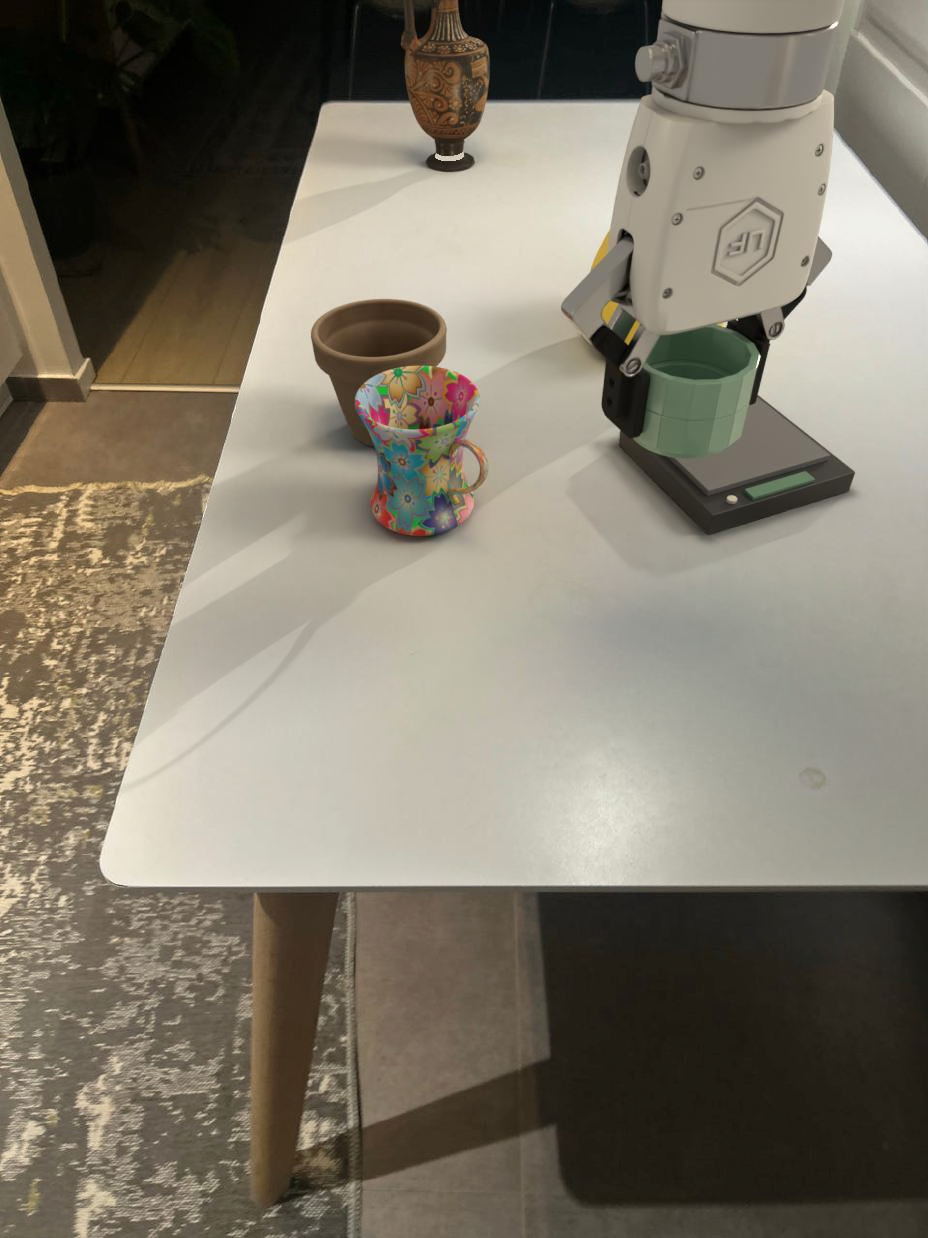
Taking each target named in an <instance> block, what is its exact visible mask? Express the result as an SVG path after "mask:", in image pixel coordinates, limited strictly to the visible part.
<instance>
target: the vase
mask: <svg viewBox="0 0 928 1238" xmlns="http://www.w3.org/2000/svg"><path fill="white" fill-rule="evenodd" d="M402 3H403V12H404V15H403V16H404V30H403V31H402V34H401V40H400V46H401V48H402V49H403V50H405V55H404V77H405V85H406V90H407V95H408V100H409V105H410V108H411V110H412V113H413V115H414V118H415V120H416V122H417V124H418V125H419V127H420V129H421V130H422V131H423V132H424V133H425V134H426V135H427V136H429V137H430V138H431V139H433V140H434V144H435V152H434V153H431V154H430V155H429V156H428V157H426V160H425V165H426V166H427V167H428V168H430V169H433V170H437V171H442V172H456V171H463V170H467V169H469V168H471V167H473V166H474V165H475V162H476V161H475V158H474V156H473V155H471V154H470V153H467V152H464V157H463V158H462V159H460V160H456V161H441V160H438V159H436V158H435V154H436V153H437V154H439V155H441V156H454V155H458V154H460V153H462V152H463V150H464V146H465V140H466V139H468V138H469V137H470V136H471V135H472V134H473V133H475V131H476V130H477V129H478V127H479V125H480V123H481V121H482V119H483V115H484V112H485V108H486V104H487V99H488V94H489V93H488V92H489V84H490V72H491V71H490V70H491V69H490V68H491V63H490V62H491V59H490V51H489V47H488V45H487V44H486V43H485V42H484V41H482V40H481V39H479V38H476V37H474V36H473V37H472V36H469V35H468V34H467V33H466V32H465V31H464V29H463V26H462V23H461V18H460V12H459V0H431V17H430V24H429V27H428V30H427V32H426V33H425V34H424V35H423V36H422V37H421V38H419V39H418V36H417V31H416V26H415V25H416V24H415V12H414V3H413V0H402Z"/></svg>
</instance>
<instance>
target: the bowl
mask: <svg viewBox="0 0 928 1238" xmlns="http://www.w3.org/2000/svg"><path fill="white" fill-rule="evenodd" d="M759 361H760V354H759V352H758V350H757V348H756V346H755V344H754V343H753V342H752V341H750V340H749V339H747V338H746V337H745V336H743V335H742V334H740V333H738V332H736V331H733V330H731V329H728V328H726V326H720V325H716V324H715V325H711V326H707V327H703V328H699V329H695V330H691V331H686V332H682V333H677V334H671V335H661V336H660V338H659V339H658V341H657V343H656V345H655V346H654V348H653V350H652V352H651V353H650V355H649V357H648V359H647V360H646V362H645V364H644V366H643V367H642V369H643V370H644V371H645V372H647V373H648V374H649V375H650V385H649V391H648V398H647V405H646V411H645V418H644V425H643V431H642V433H641V434H640V436H639V437H636V438H633V439H634V440H635V441H636V442H637V443H638V444H640V445H641V446H642V447H644V448H646V449H648V450H650V451H652V452H654V453H657V454H660V455H663V456H668V457H673V458H682V459H694V458H703V457H707V456H711V455H714V454H717V453H719V452H721V451H722V450H724V449H725V448H727V447H729V446H730V445H732V444H733V443H734V442H735V441H737V440H738V439H739V438H740V437H741V436H742V433H743V429H744V426H745V422H746V418H747V413H748V409H749V405H750V400H751V396H752V391H753V387H754V383H755V379H756V374H757V370H758V366H759Z"/></svg>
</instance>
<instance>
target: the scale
mask: <svg viewBox="0 0 928 1238" xmlns="http://www.w3.org/2000/svg"><path fill="white" fill-rule="evenodd" d="M618 438H619V439H618V445H619V447H621V448H622V449H623V450H624V451H625V452H626V454H628V456H629V457H631V458H632V460H633V461H635V463H636V464H638V465H639V467H640V468H641V469H643V470H644V472H645V473H646V474H648V476H649V477H651V479H652V480H653V481H655V483H656V484H657V485H658V486H659V487H660V488H661V489H662V490H663V491H664V492H665V493H666V494H667V495H668V496H669V497H670V498H671V499H672V500H673V501H674V502H675V503H676V504H677V505H678V506H679V507H680V508H681V509H682V510H683V511H684V512H685V513H686V514H687V516H689V517H690V518H691V519H692V521H694V522H695V524H696V525H697V526H698V527H700V529H702V530H703V531H704V532H705V533H706V535H712V534H716V533H718V532H722V531H725V530H728V529H732V528H734V527H738V526H741V525H744V524H748V523H750V522H755V521H757V520H760V519H763V518H767V517H770V516H773V515H776V514H780V513H783V512H786V511H789V510H792V509H797V508H799V507H802V506H806V505H810V504H812V503H816V502H819V501H822V500H826V499H828V498H832V497H835V496H838V495H841V494H844V493H847V492H849V491H850V489H851V486H852V484H853V481H854V477H855V475H856V471H855V470H854V469H852V468H851V467H850V466H848V465H847V464H846V463H845V462H844V461H842V460H841V459H840V458H838V457H837V456H836V455H835V454H834V453H832V452H831V451H830V450H828V449H827V448H826V447H825V446H824V445H822V444H821V443H820V442H819V441H817V440H815V438H813V436H811V435H810V434H809V433H807V432H805V430H803V429H802V428H800V427H799V426H798V425H797V424H795V423H794V422H793V421H792V420H790V419H789V418H788V417H787V416H785V414H783V413H782V412H780V411H779V410H778V409H777V408H776V407H774V406H773V405H772V404H770V403H769V402H768V401H766V400H765V399H764V398H763V397H762V396H760V395H759V394H758V396H757V400H756V403H755V404H752V405H749V409H748V413H747V418H746V422H745V426H744V429H743V433H742V436H741V437H740V438H739V439H738V440H737V441H735V442H734V443H733V444H732V445H730V446H729V447H727V448H725V449H724V450H722V451H721V452H719V453H717V454H714V455H711V456H707V457H703V458H694V459H682V458H673V457H668V456H663V455H660V454H657V453H654V452H652V451H650V450H648V449H646V448H644V447H642V446H641V445H640V444H638V443H637V442H636V441H635V440H634V439H633V438H632V439H629V438H628V437H627V436H626V435H625V434H624V433H623V432H622V431H620V430H619V436H618Z"/></svg>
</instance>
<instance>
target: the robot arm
mask: <svg viewBox="0 0 928 1238" xmlns="http://www.w3.org/2000/svg"><path fill="white" fill-rule="evenodd" d="M845 2H846V0H662V4H661V5H662V6H661V12H660V19H659V21H658V27H657V36H656V40H655V42H653V43H652V45H651V44H650V45H644V46H641V47H640V48H639V49H638V50H637V53H636V55H635V62H634V68H635V70H634V71H635V74H636V77H637V78H638V80H639V81H640V82H642V83H645V82H651V86H652V87H651V94H647V95H644V96H642V97H641V98H640V100H639V104H638V107H637V111H636V114H635V117H634V119H633V122H632V127H631V130H630V134H629V136H628V141H627V144H626V149H625V152H624V156H623V157H624V158H623V161H622V164H621V169H620V173H619V177H618V183H617V188H616V193H615V197H614V203H613V210H612V216H611V221H610V228H609V230H610V234H609V241H608V248H607V255H606V256H605V257H604V258H603V259H602V260H601V261H600V262H599V263H598V264H597V265H596V267H595V268H594V269H593V270H592V271H591V270H590V271H591V272H590V271H589V273H588V274H587V275H586V276H585V277H584V278H583V279H582V280H581V281H580V282H579V283H578V284H577V285H576V287H574V288H573V290H572V291H570V293H569V294H568V295H567V296H565V298H564V299H563V301H562V302H561V305H560V311H561V313H562V314H563V315H564V316H565V318H566V319H567V320H568V321H569V322H570V323H571V325H572V326H573V327H574V328H575V329H576V331H577V332H578V333H579V334H580V336H581V337H582V338H583V339H584V340H585V341H586V342H587V343H588V344H590V345H591V347H593V348H594V349H595V350H596V351H597V352H598V353H599V354H600V355H601V356H602V357H604V358H605V366H604V375H603V384H602V394H601V404H600V405H601V409H602V412H603V415H604V416H605V417H606V418H607V420H609V421H610V423H612V424H613V425H614V426H615V427H616V428H617V429H619V432H620V431H622V432H623V433H624V434H625V435H626V436H627V437H628V438H629V439H632V438H636V437H639V436H640V434H641V433H642V431H643V425H644V418H645V411H646V405H647V398H648V391H649V385H650V375H649V374H648V373H647V372H645V371H644V370H643V369H642V367H643V366H644V364H645V362H646V360H647V359H648V357H649V355H650V353H651V352H652V350H653V348H654V346H655V345H656V343H657V341H658V339H659V338H660V336H661V335H671V334H677V333H682V332H686V331H691V330H695V329H699V328H703V327H707V326H711V325H715V324H719V323H723V324H724V323H726V326H725V328H728V329H731V330H733V331H736V332H738V333H740V334H742V335H743V336H745V337H746V338H747V339H749V340H750V341H752V342H753V343H754V344H755V346H756V348H757V350H758V352H759V354H760V361H759V366H758V370H757V374H756V379H755V383H754V387H753V391H752V396H751V400H750V405H752V404H755V403H756V400H757V396H758V395H759V391H760V386H761V383H762V380H763V375H764V371H765V366H766V363H767V362H766V361H767V358H768V354H769V350H770V346H771V343H770V341H775V340H776V339H778V338H780V337H781V335H783V332H784V330H785V328H786V327H785V326H786V325H785V324H786V323H785V320H786V318H787V317H788V316H790V314H791V313H792V312H793V311H794V310H795V309H796V308H797V307H798V305H799V304H800V303H801V302H802V301H803V300H804V298H805V297H806V295H807V292H808V288H807V287H808V286H809V287H810V286H811V285H812V284H813V283H814V282H815V281H816V279H817V278H818V277H819V276H820V274H821V273H822V272H823V271H824V270H825V268H826V267H827V266H828V265H829V263H830V262H831V259H832V258H833V251H832V250H831V248H829V246H828V245H827V244H826V243H825V242H824V241H823V239H821V237H820V236H819V235H820V229H821V224H822V219H823V216H824V215H823V214H824V209H825V203H826V198H827V193H828V191H827V190H828V185H829V179H830V178H829V177H830V172H831V165H832V155H833V143H834V127H835V126H834V125H835V97H834V94H832V93H831V92H830V91H829V90H826V89H825V84H826V81H827V77H828V72H829V68H830V64H831V60H832V56H833V52H834V47H835V44H836V38H837V36H838V35H837V34H838V31H839V26H840V19H841V18H842V13H843V9H844V5H845ZM610 300H611V301H612V302H615V303H619V304H618V306H617V308H616V310H615V312H614V313H613V315H612V317H611V319H610V321H609V323H608V325H607V324H606V322H605V320H604V319H603V317H602V311H603V309H604V307H605V306H606V305H607V304H608V303H609V301H610ZM635 321H637V322H639V323H640V325H639V327H638V329H637V330H636V332H635V334H634V336H633V338H632V339H631V341H630V343H629V345H627V344H626V343H625V342H624V341H625V340H626V338H627V336H628V334H629V332H630V330H631V329H632V327H633V325H634V323H635Z"/></svg>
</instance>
